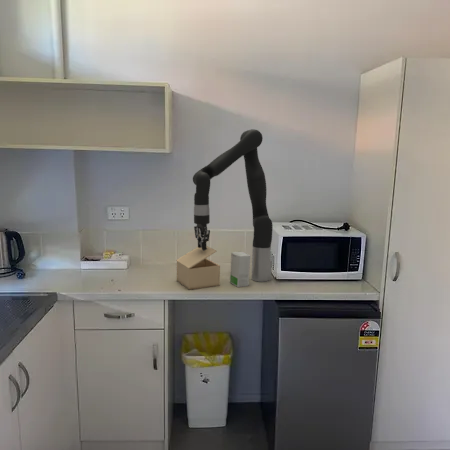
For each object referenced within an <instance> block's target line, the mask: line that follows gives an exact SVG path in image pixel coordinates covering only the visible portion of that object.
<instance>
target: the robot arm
mask: <svg viewBox="0 0 450 450" xmlns="http://www.w3.org/2000/svg"><path fill="white" fill-rule="evenodd" d="M262 134H263V133H261V132H260V131H259V129H247V130H244V131H243V132H242V133H241V135H240V138H239V141H238V142H237V143H236V144H234V145H233V147H231V148H229V149H228V150H226V151H224V152H222V153H221V154H219V155H218V156H217V157H215V158H214V159H213V160H212V161H211V162H210V163H208V164H207V165H205V166H204V167H202V168H200V169H199V170H198V171H196V172H195V173H194V174H193V176H192V183H193V184H194V186H195V193H194V195H193V196H194V197H193V201H194V202H193V204H194V206H193V224H195V226H193V229H194V237H195V239H196V240H197V247H198V248H201V246H200V244H199V242H200V241H202V250H206V246H207V242H209V240H210V236H211V235H210V234H211V230H210V229H208V224H210V190H211V189H210V188H211V180H212V179H213V178H214V177H218V176H220V175H221V174H222V173H223V172H225V170H227V169H228V168H230V167H231V166H232V165H233V164H234V163H236V162H237V161H238V160H239V159H240V158H242V157H243V160H244V168H245V175H246V176H245V177H246V183H247V190H248V195H249V198H250V199H249V201H250V203H251V207H252V209H251V211H252V226H253V239H252V252H251V253H252V255H251V256H252V257H251V280H252V281H255V282H261V283H262V282H269V281H271V280H272V265H273V263H272V260H271V250H272V249H271V248H272V247H271V246H272V242H273V241H272V240H273V226H274V225H273V221H272V220H271V218H270V216H269V212H268V207H267V181H266V176H265V175H266V174H265V171H264V169H263V167H262V165H261V162H260V159H259V153H258V148H259V147H260V146H261V144H262V143H263V135H262Z"/></svg>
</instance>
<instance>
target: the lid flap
mask: <svg viewBox="0 0 450 450" xmlns="http://www.w3.org/2000/svg"><path fill="white" fill-rule="evenodd" d="M199 244H200V246H201V248H198V246H196V247H195V248H194V249H192V250H191V251H189V252H187V253H185V254H184V255H182V256H180V257H179V258H177V259H176V263H177V262H179V263H180V264H182V265H184V266H185V267H187V268H188V269H190V268H192V267H193V266H195V265H196V264H198V263H199V262H201V261H203V260H204V259H206V258H207V259H208V258H209V257H210V256H212V255H214V254H215V253H217V250H216V249H214V248H212V247H210V246H207V245H206V250H202V241H200V242H199Z"/></svg>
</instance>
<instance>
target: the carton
mask: <svg viewBox="0 0 450 450" xmlns="http://www.w3.org/2000/svg"><path fill="white" fill-rule="evenodd" d="M220 276H221V265H220V264H218V263H216V262H215V261H212V260H210V259H208V257H207V258H206V259H204V260H203V261H201V262H199V263H198V264H196V265H195V266H193V267H192V268H190V269H188V268H187V267H185V266H184V265H182V264H180V263H179V262H177V261H176V281H177V282H178V283H179V284H181V285H182V286H183V287H185V289H187V290H188V291H191V290H198V289H205V288H213V287H219V286H220V285H221V277H220Z"/></svg>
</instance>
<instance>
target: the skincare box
mask: <svg viewBox="0 0 450 450" xmlns="http://www.w3.org/2000/svg"><path fill="white" fill-rule="evenodd" d="M230 254H231V255H230V256H231V257H230V272H229V273H230V276H229V283H230V284H232V285H233V286H235V287H237V288H241V287H248V286H249V285H250V284H249V281H250V268H251V267H250V266H251V255H250V254H249V253H246V252H244V251H241V250H240V251H232V252H231V253H230Z"/></svg>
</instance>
